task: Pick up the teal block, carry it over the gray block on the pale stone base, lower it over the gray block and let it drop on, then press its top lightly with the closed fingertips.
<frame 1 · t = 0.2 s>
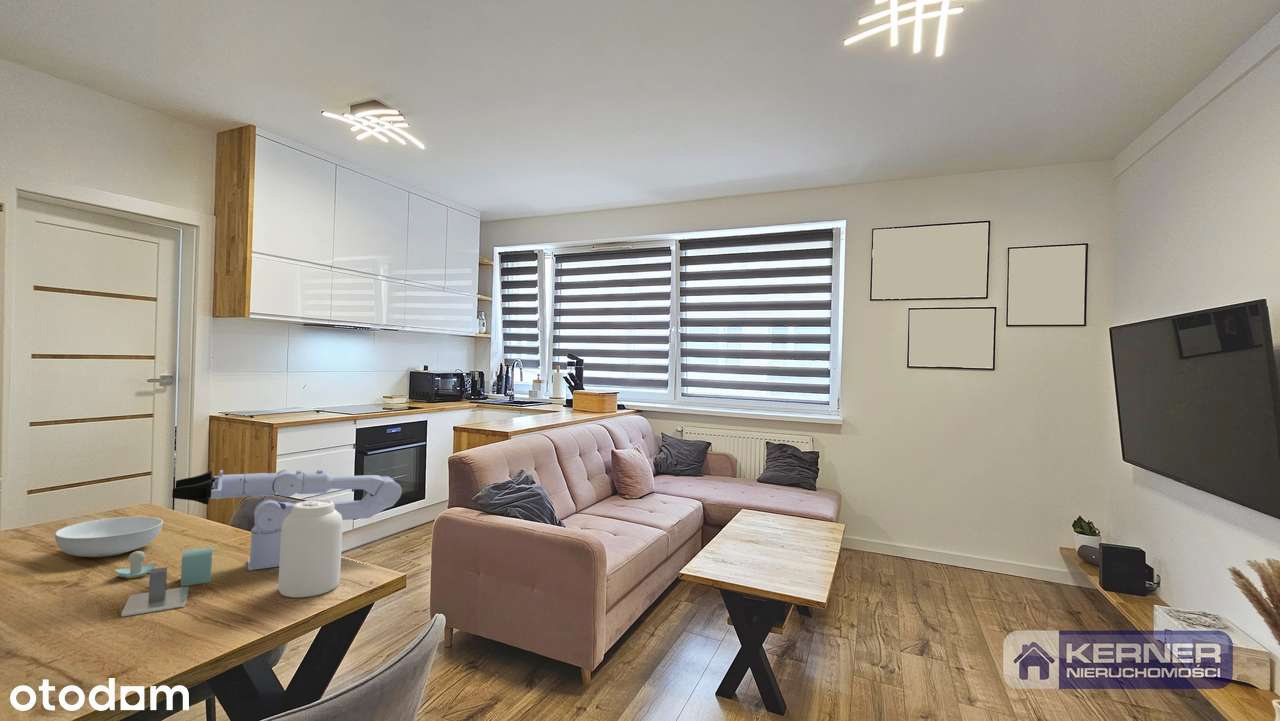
hand: (174, 489, 135), 21 cm above the table, tool horizontal, fingers open, 7 cm apart
teal block: (196, 580, 134), on the table
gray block: (156, 602, 121), on the table
serving bowl: (110, 552, 150), on the table
pacifier: (135, 576, 135), on the table
white jar: (309, 588, 132), on the table
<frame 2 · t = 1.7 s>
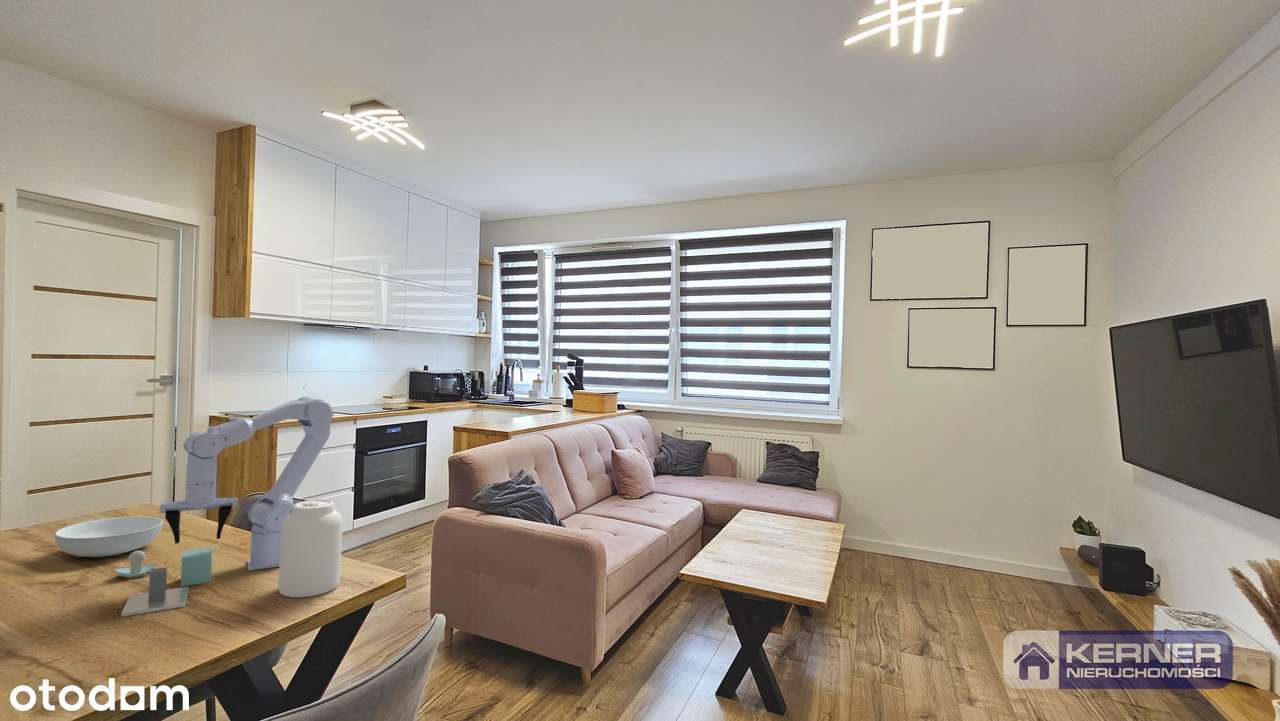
hand: (198, 540, 134), 10 cm above the table, tool pointing down, fingers open, 7 cm apart
nothing on the table moved.
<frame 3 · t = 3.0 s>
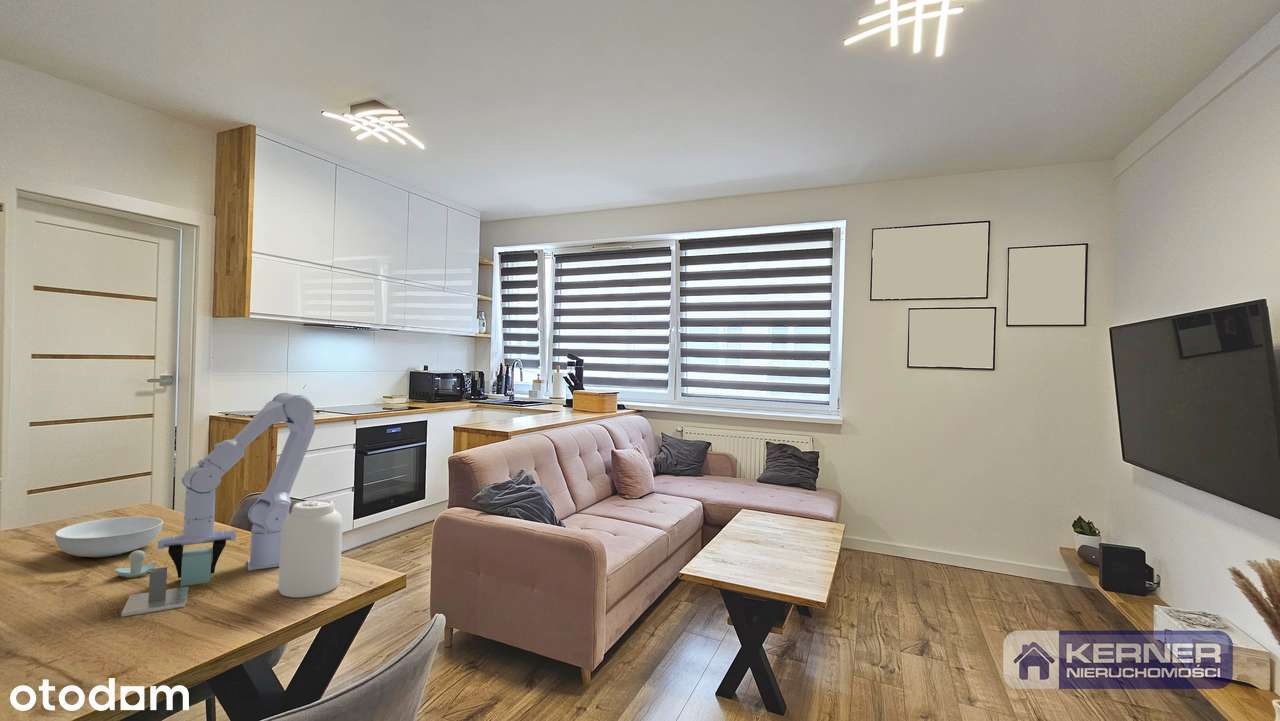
hand: (196, 574, 134), 1 cm above the table, tool pointing down, fingers closed on teal block, 5 cm apart
teal block: (196, 580, 134), on the table, touching gripper
everything else where it was.
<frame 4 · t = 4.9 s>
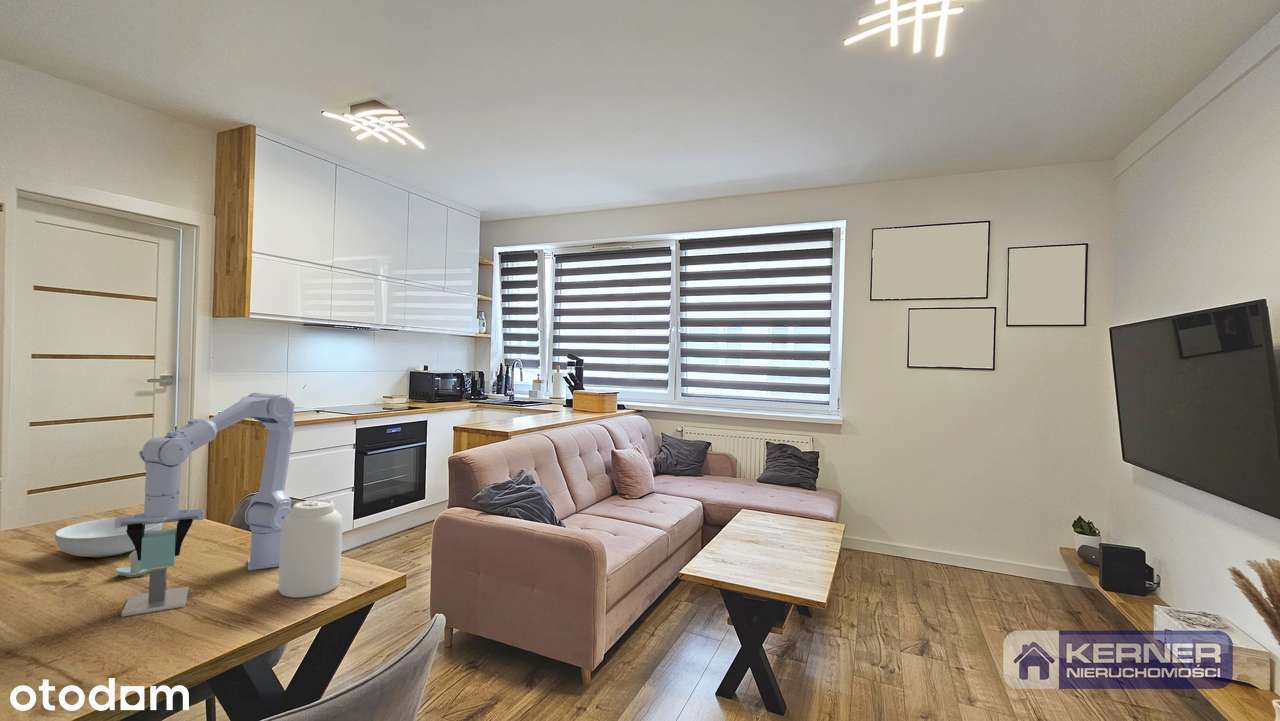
hand: (159, 556, 121), 10 cm above the table, tool pointing down, fingers closed on teal block, 5 cm apart
teal block: (158, 563, 121), point 8 cm above the table, touching gripper
when the fingers open (4 cm above the table, at t = 6.8 s): teal block drops 1 cm, resting on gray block.
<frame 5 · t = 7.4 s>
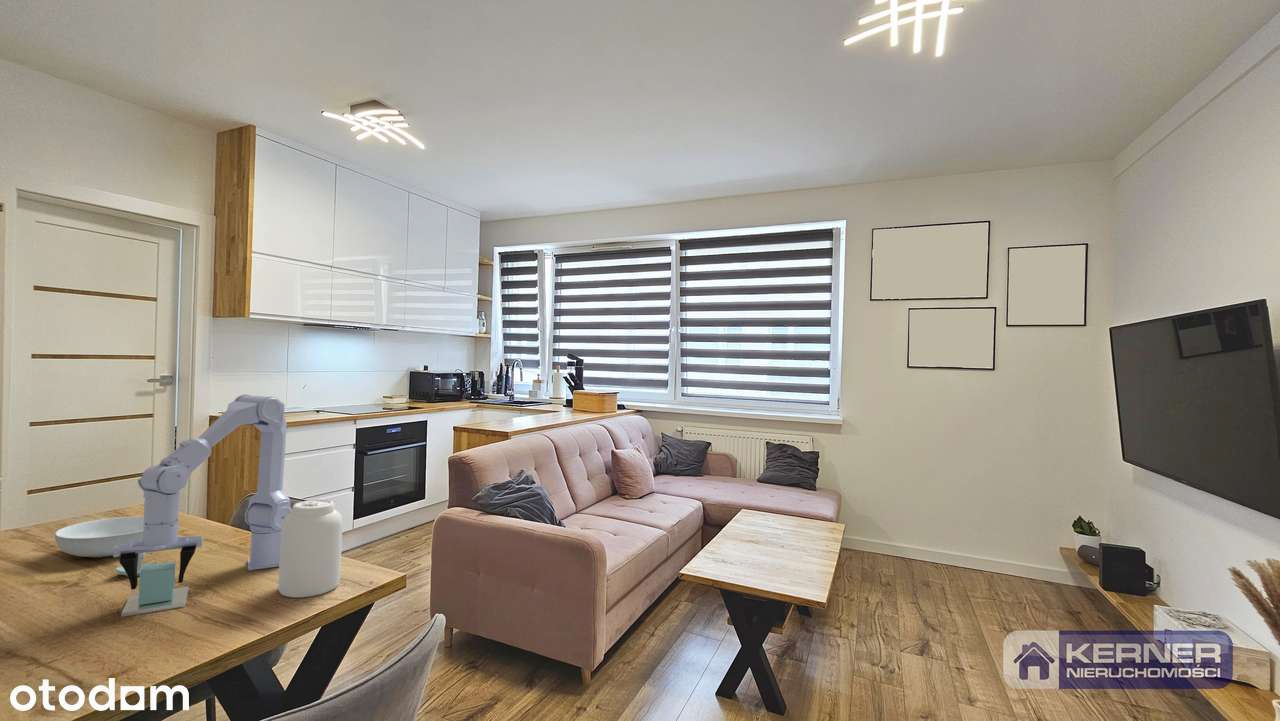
hand: (157, 584, 121), 4 cm above the table, tool pointing down, fingers open, 7 cm apart
teal block: (156, 597, 121), point 1 cm above the table, touching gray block
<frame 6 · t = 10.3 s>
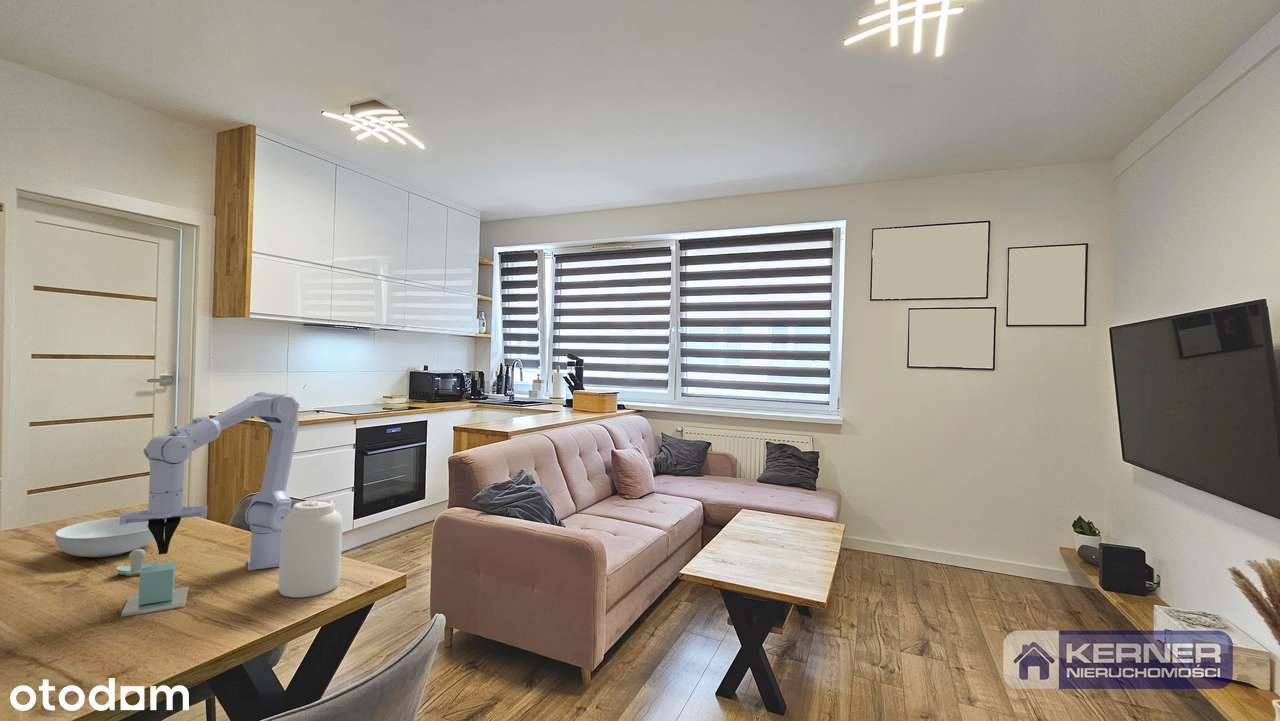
hand: (163, 552, 123), 10 cm above the table, tool pointing down, fingers closed
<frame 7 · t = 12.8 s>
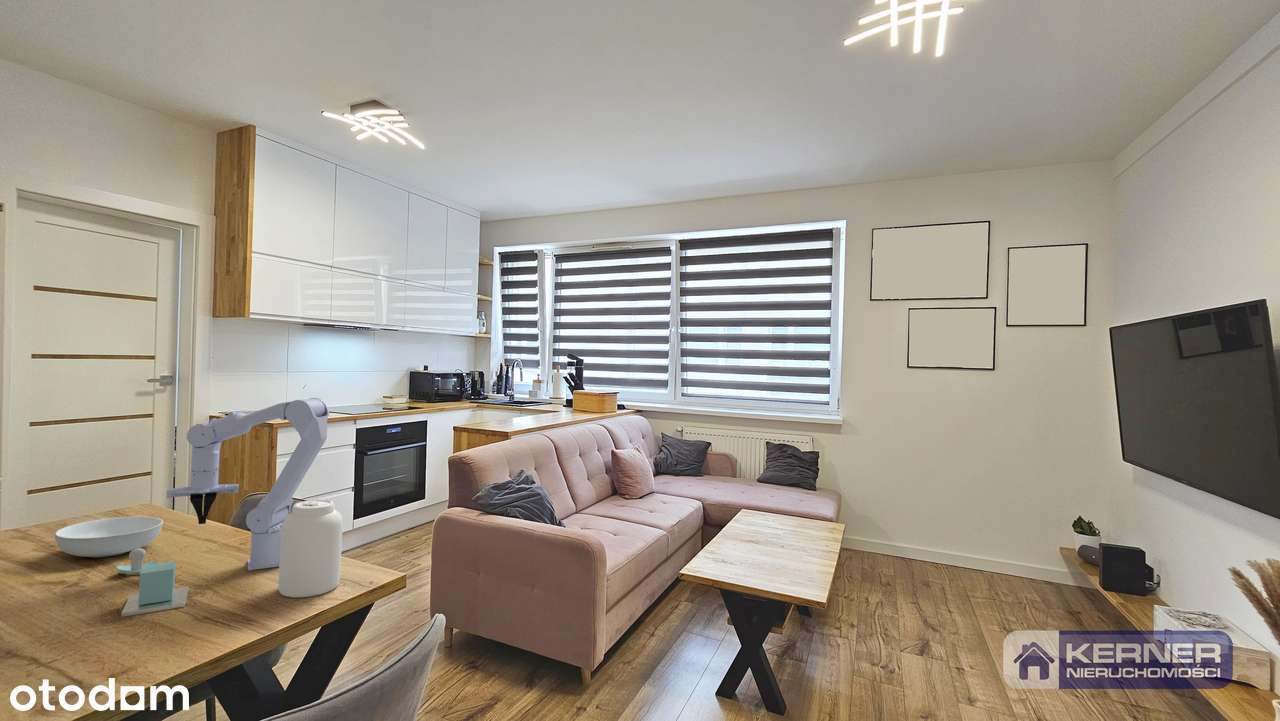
hand: (202, 523, 145), 10 cm above the table, tool pointing down, fingers closed
at the end: teal block 0.1 cm from the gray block (horizontally); teal block point 1.0 cm above the table; teal block tilted 0° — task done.
